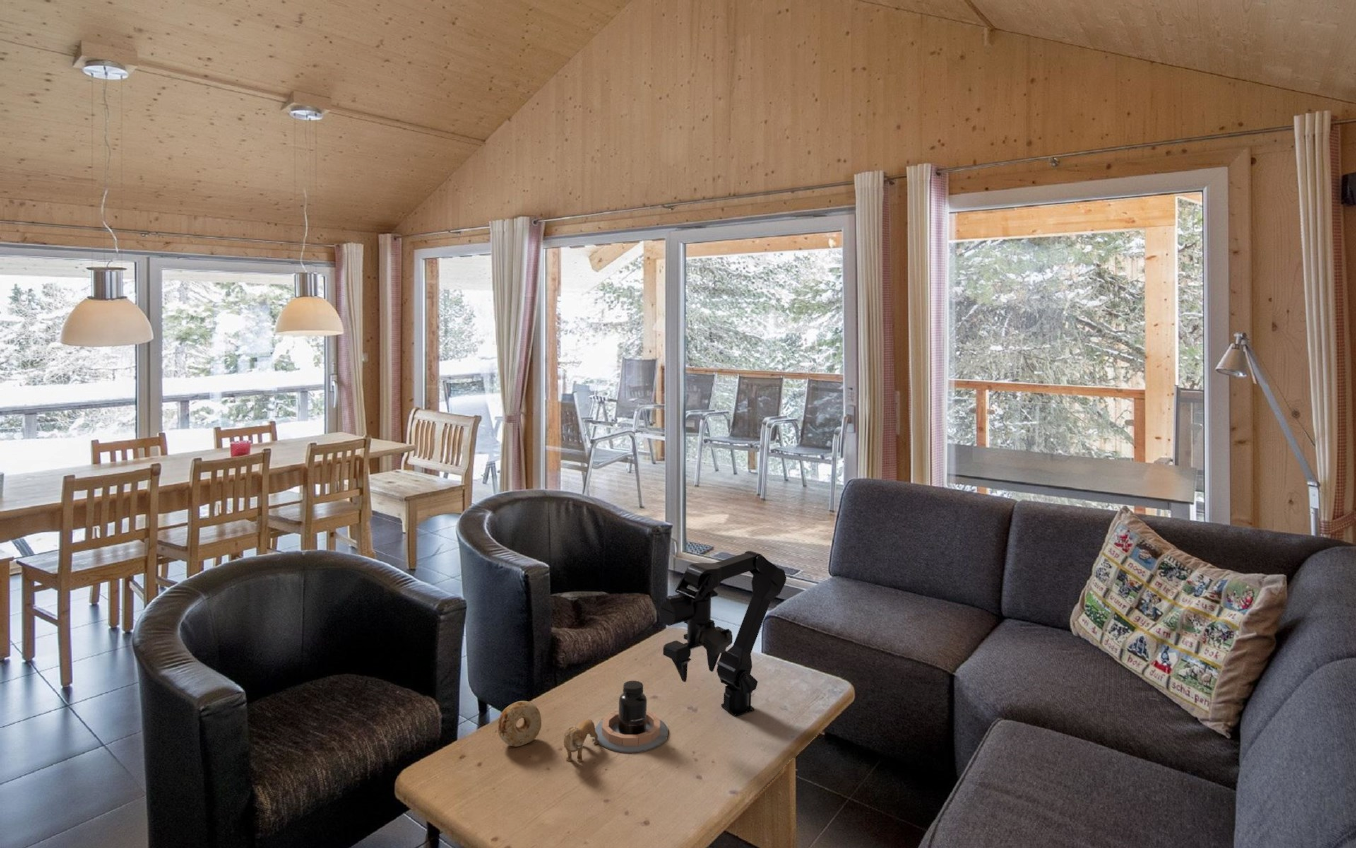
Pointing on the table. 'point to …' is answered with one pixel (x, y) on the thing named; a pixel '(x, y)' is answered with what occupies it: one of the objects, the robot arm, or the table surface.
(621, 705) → the supplement bottle
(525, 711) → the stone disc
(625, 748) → the ring tray
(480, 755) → the table surface
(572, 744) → the lion figurine
